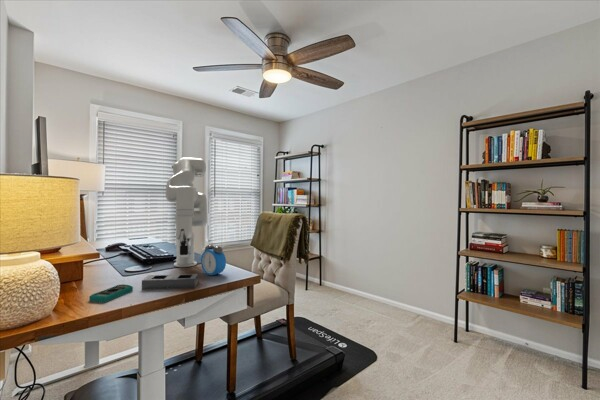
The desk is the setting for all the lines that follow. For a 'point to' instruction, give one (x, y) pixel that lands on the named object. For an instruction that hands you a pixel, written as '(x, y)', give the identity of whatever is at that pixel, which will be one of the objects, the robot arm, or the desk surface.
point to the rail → (170, 281)
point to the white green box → (188, 249)
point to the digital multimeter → (110, 293)
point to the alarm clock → (213, 260)
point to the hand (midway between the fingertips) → (185, 253)
